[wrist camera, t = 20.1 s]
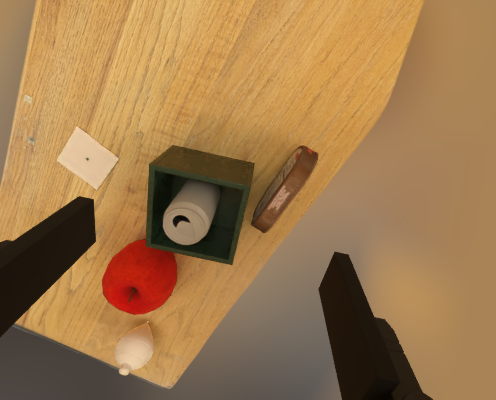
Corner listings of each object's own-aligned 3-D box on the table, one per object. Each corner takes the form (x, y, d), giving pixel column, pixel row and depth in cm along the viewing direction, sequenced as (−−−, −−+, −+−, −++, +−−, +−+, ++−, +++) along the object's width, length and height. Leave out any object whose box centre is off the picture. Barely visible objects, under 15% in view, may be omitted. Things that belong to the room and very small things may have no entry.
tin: (264, 217, 49) (263, 244, 42) (249, 209, 49) (245, 235, 41) (315, 147, 43) (325, 164, 35) (299, 136, 42) (305, 151, 35)
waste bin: (254, 163, 45) (250, 186, 36) (238, 231, 51) (232, 265, 42) (172, 145, 44) (149, 163, 36) (166, 216, 50) (145, 246, 42)
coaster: (56, 160, 47) (53, 161, 46) (76, 125, 44) (73, 126, 43) (97, 190, 49) (94, 192, 48) (119, 158, 46) (117, 160, 45)
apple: (141, 276, 57) (107, 331, 45) (118, 228, 53) (73, 276, 41) (194, 269, 56) (173, 325, 44) (176, 220, 51) (147, 267, 39)
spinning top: (129, 307, 62) (100, 358, 51) (162, 310, 62) (140, 362, 51) (134, 330, 65) (107, 382, 55) (166, 333, 65) (145, 386, 54)
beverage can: (211, 167, 45) (192, 199, 34) (228, 200, 47) (215, 239, 37) (178, 181, 47) (150, 215, 36) (196, 212, 49) (175, 253, 38)
